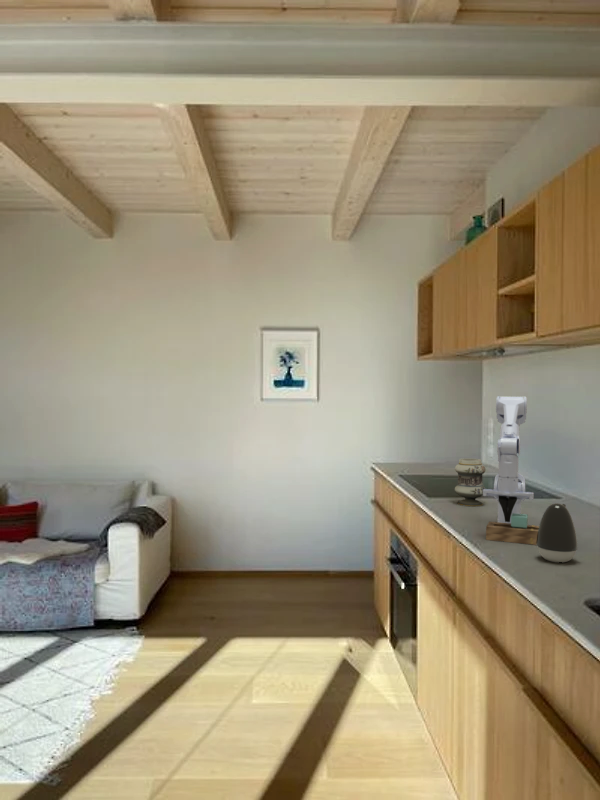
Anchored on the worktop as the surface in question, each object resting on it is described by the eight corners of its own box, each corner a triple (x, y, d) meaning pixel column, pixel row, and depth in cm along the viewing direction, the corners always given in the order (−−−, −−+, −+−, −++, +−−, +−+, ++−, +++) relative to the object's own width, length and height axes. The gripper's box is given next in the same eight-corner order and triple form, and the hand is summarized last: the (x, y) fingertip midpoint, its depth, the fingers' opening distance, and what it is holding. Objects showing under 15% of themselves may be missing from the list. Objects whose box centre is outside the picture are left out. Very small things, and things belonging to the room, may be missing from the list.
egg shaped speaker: (582, 559, 166) (583, 503, 166) (569, 567, 159) (570, 508, 158) (544, 552, 173) (545, 498, 173) (530, 560, 165) (531, 503, 165)
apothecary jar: (464, 500, 255) (465, 456, 255) (491, 504, 247) (492, 459, 247) (448, 503, 247) (449, 458, 247) (475, 508, 238) (476, 461, 238)
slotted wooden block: (485, 539, 187) (486, 518, 187) (489, 534, 195) (489, 513, 195) (572, 548, 178) (572, 526, 178) (572, 542, 186) (572, 520, 185)
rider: (510, 533, 186) (511, 516, 186) (512, 530, 191) (512, 513, 191) (526, 535, 184) (526, 517, 184) (527, 531, 189) (527, 514, 189)
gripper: (481, 476, 188) (481, 521, 188) (532, 480, 182) (532, 526, 182) (484, 474, 194) (484, 517, 195) (534, 477, 189) (533, 521, 189)
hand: (507, 521), depth 189 cm, fingers closed
